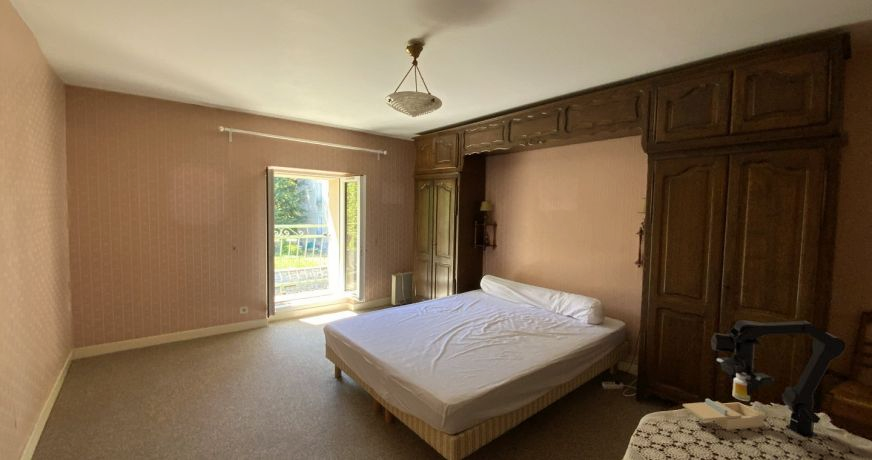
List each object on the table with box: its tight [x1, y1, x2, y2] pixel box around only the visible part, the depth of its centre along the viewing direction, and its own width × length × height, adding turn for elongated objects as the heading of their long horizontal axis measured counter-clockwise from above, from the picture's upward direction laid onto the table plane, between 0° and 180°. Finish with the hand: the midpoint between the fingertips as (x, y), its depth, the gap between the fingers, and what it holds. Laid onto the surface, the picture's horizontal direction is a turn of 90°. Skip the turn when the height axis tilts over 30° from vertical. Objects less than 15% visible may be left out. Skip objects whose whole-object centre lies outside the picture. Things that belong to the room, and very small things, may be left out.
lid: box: [682, 398, 742, 421], centre depth 141 cm, size 16×10×3 cm, turn 98°
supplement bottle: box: [731, 373, 751, 402], centre depth 142 cm, size 5×5×10 cm
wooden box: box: [712, 401, 765, 431], centre depth 143 cm, size 16×10×4 cm, turn 98°
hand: (741, 391), depth 142 cm, fingers closed on supplement bottle, 5 cm apart
